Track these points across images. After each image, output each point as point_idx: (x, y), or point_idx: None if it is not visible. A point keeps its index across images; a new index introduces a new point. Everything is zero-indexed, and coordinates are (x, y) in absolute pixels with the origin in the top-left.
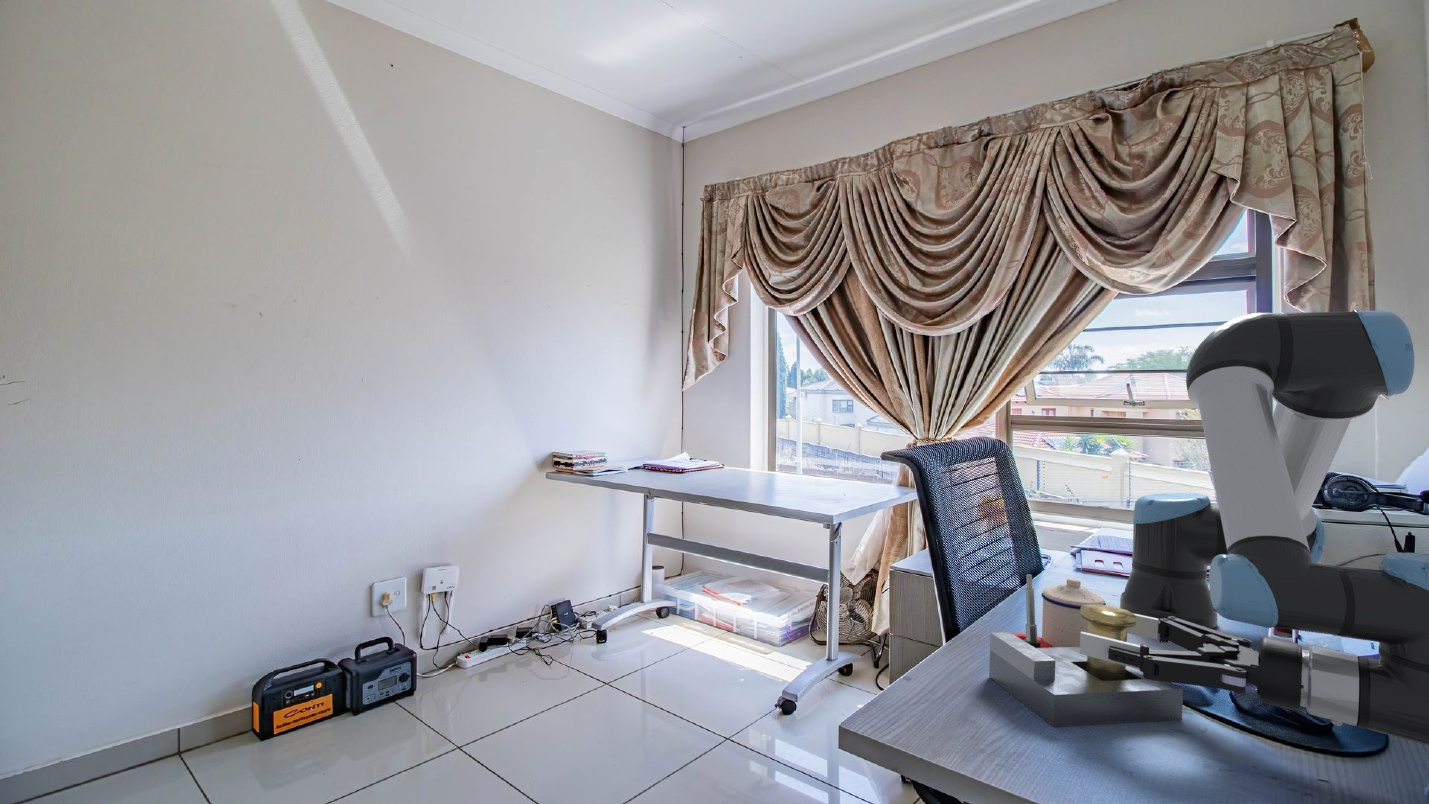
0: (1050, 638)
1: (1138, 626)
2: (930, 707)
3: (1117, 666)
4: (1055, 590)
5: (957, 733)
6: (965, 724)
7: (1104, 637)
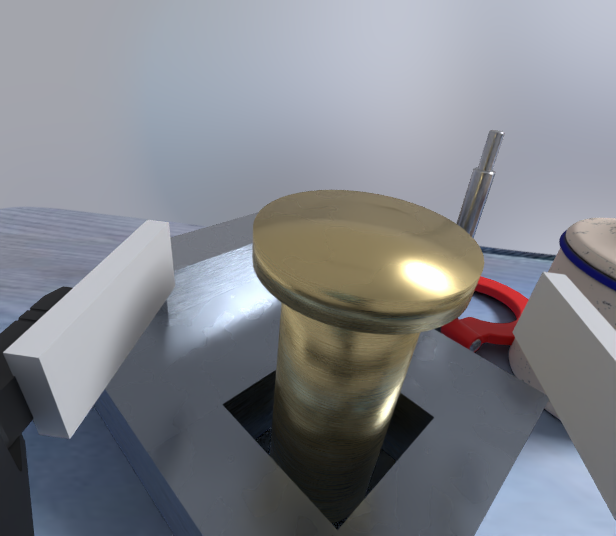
0: None
1: (588, 404)
2: (101, 245)
3: (286, 415)
4: (614, 221)
5: (7, 272)
6: (47, 276)
7: (126, 260)
